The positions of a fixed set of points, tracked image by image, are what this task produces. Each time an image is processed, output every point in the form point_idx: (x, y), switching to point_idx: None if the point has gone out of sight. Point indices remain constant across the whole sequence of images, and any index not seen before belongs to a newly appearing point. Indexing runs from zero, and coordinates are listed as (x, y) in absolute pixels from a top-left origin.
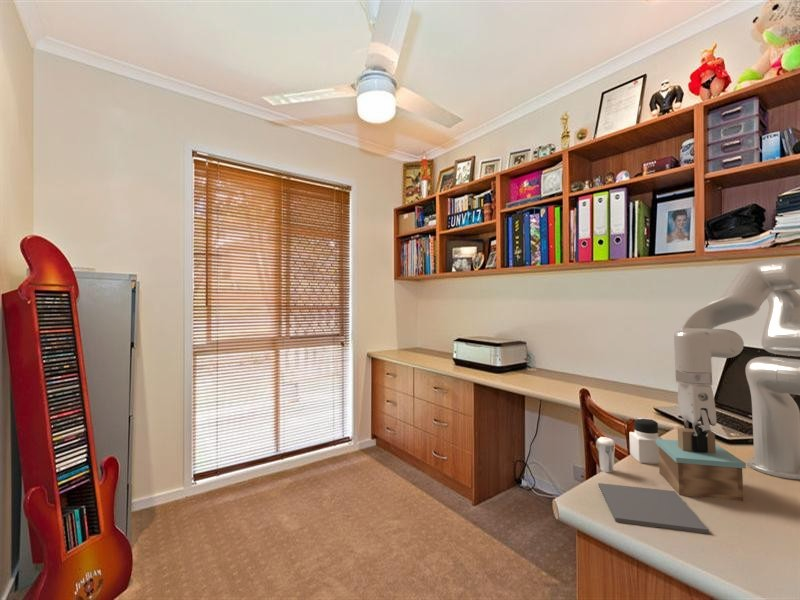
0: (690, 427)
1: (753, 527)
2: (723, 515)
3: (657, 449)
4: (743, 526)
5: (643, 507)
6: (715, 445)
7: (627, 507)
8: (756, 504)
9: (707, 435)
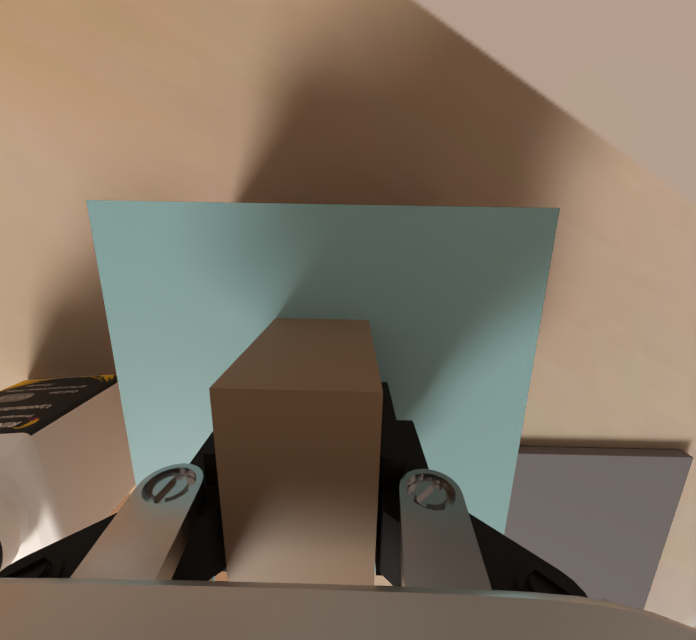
0: (198, 571)
1: (641, 305)
2: (567, 358)
3: (87, 441)
4: (636, 333)
5: (568, 571)
6: (160, 229)
7: None
8: (464, 192)
9: (462, 496)
